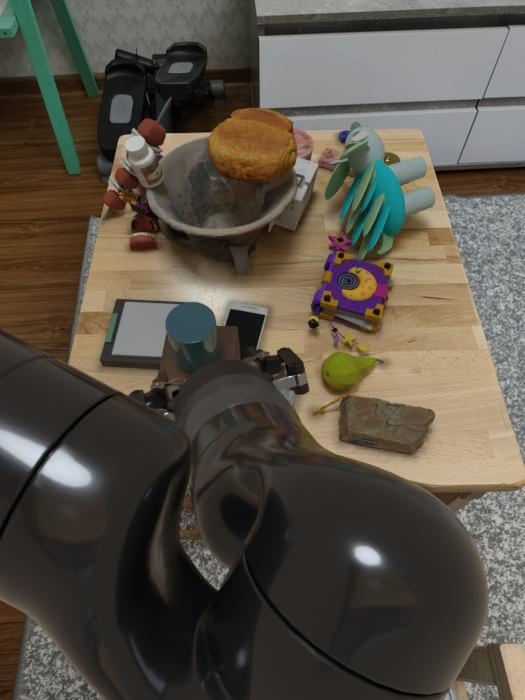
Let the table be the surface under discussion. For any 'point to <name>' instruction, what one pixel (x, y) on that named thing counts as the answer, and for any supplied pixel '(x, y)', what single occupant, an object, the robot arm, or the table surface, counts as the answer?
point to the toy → (331, 156)
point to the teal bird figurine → (377, 189)
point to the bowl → (215, 206)
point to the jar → (193, 336)
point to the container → (303, 144)
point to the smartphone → (247, 324)
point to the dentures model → (143, 238)
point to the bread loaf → (253, 146)
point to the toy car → (137, 203)
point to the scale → (136, 333)
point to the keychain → (332, 402)
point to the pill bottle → (144, 162)
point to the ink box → (298, 195)
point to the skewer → (126, 175)
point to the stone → (383, 423)
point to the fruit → (345, 369)
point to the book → (351, 291)
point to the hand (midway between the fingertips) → (208, 369)
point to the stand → (227, 347)
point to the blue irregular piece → (343, 135)
